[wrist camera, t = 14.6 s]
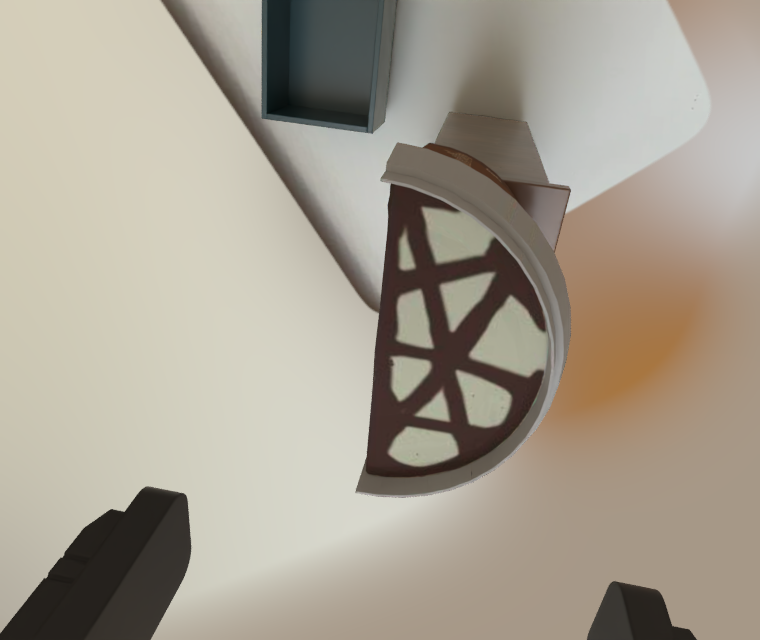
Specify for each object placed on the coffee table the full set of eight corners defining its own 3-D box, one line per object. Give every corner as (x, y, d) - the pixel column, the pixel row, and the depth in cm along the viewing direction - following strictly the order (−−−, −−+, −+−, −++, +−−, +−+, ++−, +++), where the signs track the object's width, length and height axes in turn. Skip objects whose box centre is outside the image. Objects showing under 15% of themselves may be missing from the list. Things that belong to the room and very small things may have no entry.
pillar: (527, 122, 44) (555, 195, 25) (511, 199, 46) (524, 317, 28) (449, 111, 44) (418, 176, 26) (437, 188, 47) (402, 297, 28)
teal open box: (406, -97, 39) (394, -114, 34) (384, 122, 45) (372, 133, 41) (289, -108, 40) (262, -126, 35) (284, 108, 46) (261, 118, 42)
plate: (569, 185, 25) (571, 189, 24) (532, 328, 28) (533, 334, 27) (408, 163, 25) (406, 166, 25) (391, 304, 29) (389, 309, 28)
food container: (525, 382, 28) (527, 543, 20) (403, 360, 29) (354, 504, 21) (589, 123, 22) (632, 190, 14) (433, 105, 23) (381, 157, 15)
